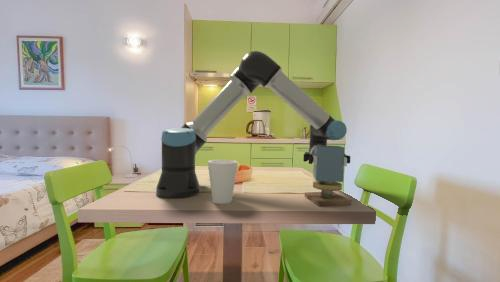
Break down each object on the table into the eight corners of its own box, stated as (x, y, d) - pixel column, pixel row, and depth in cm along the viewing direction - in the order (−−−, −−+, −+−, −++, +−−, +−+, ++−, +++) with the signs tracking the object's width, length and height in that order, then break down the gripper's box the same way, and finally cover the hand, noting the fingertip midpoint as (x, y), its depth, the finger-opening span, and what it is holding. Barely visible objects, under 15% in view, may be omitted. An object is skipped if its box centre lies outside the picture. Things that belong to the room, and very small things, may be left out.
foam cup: (231, 206, 72) (232, 164, 72) (203, 204, 74) (203, 162, 74) (239, 198, 82) (240, 160, 81) (213, 195, 83) (214, 159, 83)
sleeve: (313, 175, 85) (314, 145, 85) (337, 177, 84) (338, 145, 83) (315, 180, 77) (317, 146, 76) (343, 182, 76) (344, 147, 75)
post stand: (304, 196, 85) (306, 146, 84) (332, 195, 87) (334, 146, 86) (319, 206, 74) (321, 148, 73) (351, 205, 76) (353, 149, 76)
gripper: (347, 164, 96) (365, 174, 74) (294, 162, 100) (296, 171, 77) (348, 146, 96) (366, 150, 74) (294, 144, 99) (296, 148, 77)
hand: (330, 161), depth 75 cm, fingers closed on sleeve, 8 cm apart
